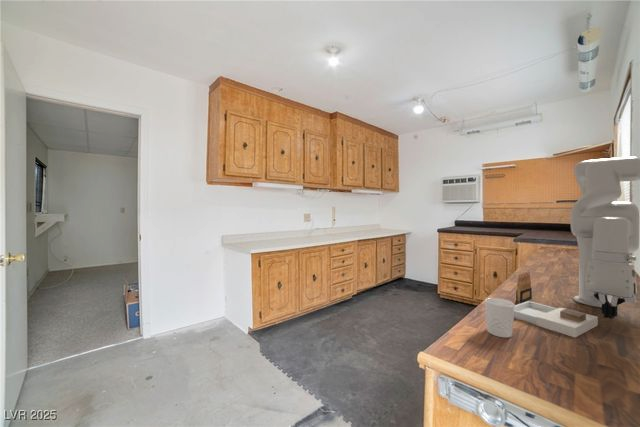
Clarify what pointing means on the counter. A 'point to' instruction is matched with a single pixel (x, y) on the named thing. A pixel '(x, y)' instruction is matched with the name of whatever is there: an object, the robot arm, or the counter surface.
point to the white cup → (499, 316)
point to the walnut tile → (573, 315)
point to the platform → (566, 323)
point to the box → (530, 311)
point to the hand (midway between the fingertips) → (609, 317)
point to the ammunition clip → (523, 288)
